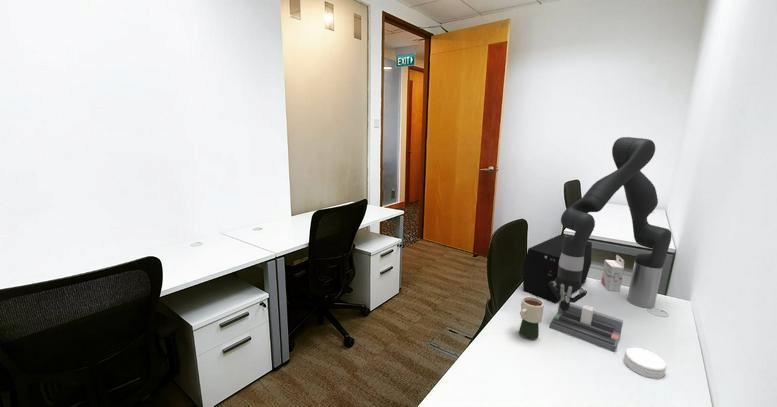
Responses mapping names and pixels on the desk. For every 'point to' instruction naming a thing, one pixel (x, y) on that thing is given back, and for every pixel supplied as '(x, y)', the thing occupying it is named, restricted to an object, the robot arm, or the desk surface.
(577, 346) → the desk surface
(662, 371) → the white round disc
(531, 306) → the character mug
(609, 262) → the ink cartridge box
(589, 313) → the handle
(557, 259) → the uninterruptible power supply
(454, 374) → the desk surface
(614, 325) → the grey slider panel
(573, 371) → the desk surface
